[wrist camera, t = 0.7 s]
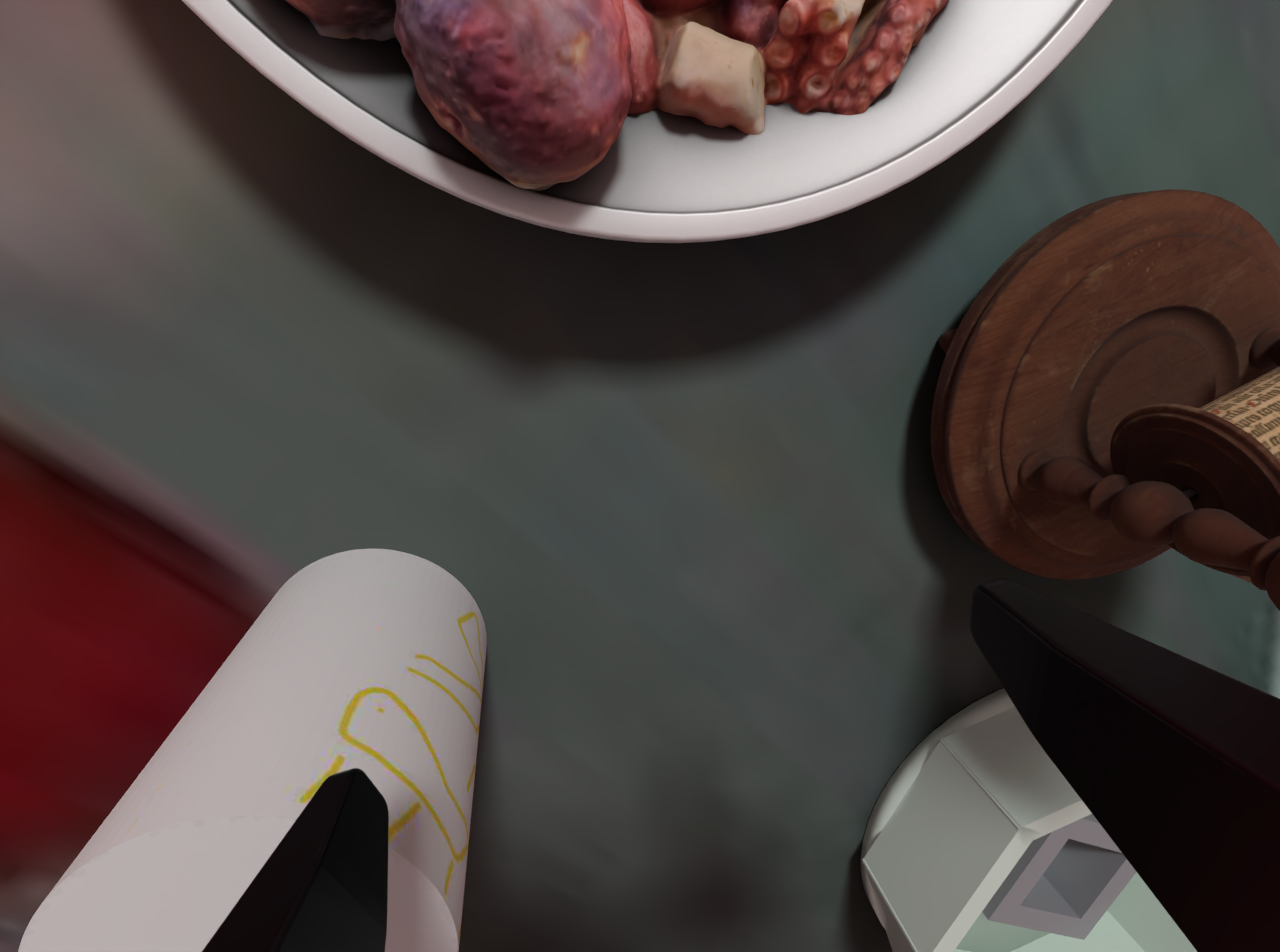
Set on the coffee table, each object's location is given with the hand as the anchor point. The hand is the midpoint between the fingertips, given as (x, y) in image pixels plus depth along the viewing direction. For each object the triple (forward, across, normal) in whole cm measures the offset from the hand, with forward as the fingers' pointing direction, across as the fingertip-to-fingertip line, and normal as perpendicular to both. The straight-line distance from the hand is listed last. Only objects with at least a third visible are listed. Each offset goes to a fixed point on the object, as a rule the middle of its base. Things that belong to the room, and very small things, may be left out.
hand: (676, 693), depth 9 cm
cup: (+13, +11, +8) cm, 19 cm away
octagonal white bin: (+10, -16, +30) cm, 35 cm away
